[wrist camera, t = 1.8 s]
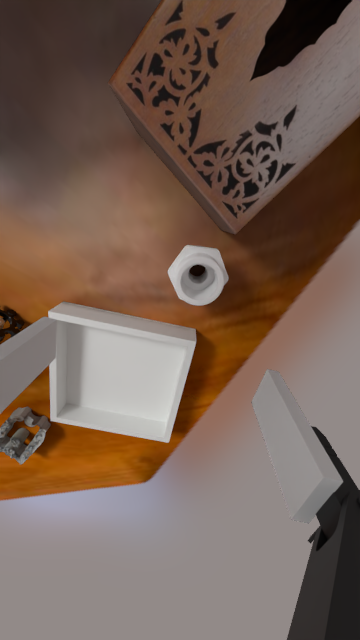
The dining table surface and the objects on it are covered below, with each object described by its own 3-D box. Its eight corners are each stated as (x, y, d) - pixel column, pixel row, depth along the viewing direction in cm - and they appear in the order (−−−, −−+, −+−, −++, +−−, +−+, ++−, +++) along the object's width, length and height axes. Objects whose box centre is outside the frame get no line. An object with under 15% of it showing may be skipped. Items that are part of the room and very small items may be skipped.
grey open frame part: (22, 400, 42) (6, 417, 39) (58, 421, 44) (45, 440, 40) (-1, 431, 46) (-19, 449, 42) (32, 449, 48) (19, 469, 44)
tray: (63, 301, 34) (48, 311, 30) (195, 329, 35) (196, 341, 31) (62, 403, 42) (50, 420, 38) (170, 423, 43) (168, 442, 39)
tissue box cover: (221, 230, 30) (235, 234, 20) (136, 131, 26) (107, 82, 17) (430, 24, 22) (606, -120, 13) (352, -159, 18) (521, -553, 9)
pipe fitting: (232, 260, 31) (245, 273, 23) (198, 301, 33) (201, 324, 26) (194, 230, 29) (196, 233, 22) (162, 274, 32) (154, 291, 24)
